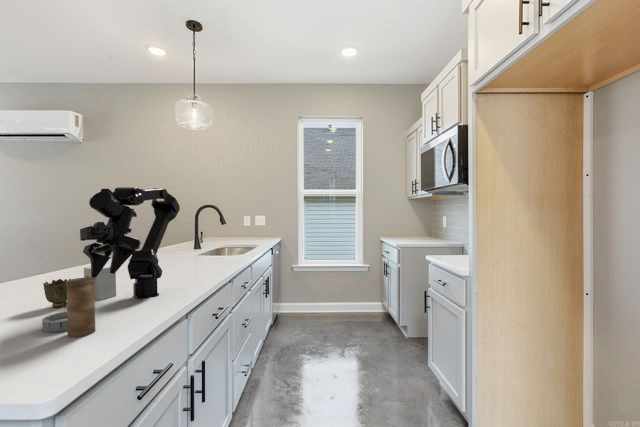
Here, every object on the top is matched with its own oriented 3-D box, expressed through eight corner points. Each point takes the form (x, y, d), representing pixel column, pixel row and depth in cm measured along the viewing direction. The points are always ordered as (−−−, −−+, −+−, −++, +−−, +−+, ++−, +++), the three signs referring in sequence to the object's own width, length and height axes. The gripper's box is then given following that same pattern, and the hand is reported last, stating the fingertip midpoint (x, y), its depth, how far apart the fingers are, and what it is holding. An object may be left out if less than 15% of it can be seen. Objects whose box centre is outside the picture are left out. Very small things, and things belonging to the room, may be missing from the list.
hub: (84, 316, 88) (84, 308, 87) (89, 325, 81) (89, 316, 81) (41, 325, 81) (41, 315, 81) (43, 335, 75) (42, 325, 75)
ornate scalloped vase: (56, 311, 92) (56, 284, 92) (37, 309, 94) (36, 283, 93) (80, 303, 99) (80, 278, 99) (62, 302, 101) (61, 277, 101)
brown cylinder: (94, 326, 80) (93, 276, 80) (98, 333, 76) (97, 280, 76) (65, 332, 76) (64, 279, 76) (67, 340, 72) (66, 284, 72)
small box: (116, 296, 108) (116, 265, 108) (100, 300, 103) (100, 268, 103) (100, 293, 111) (99, 264, 111) (83, 298, 106) (83, 267, 105)
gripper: (72, 220, 92) (52, 272, 85) (109, 206, 83) (89, 263, 77) (111, 233, 100) (95, 281, 93) (147, 222, 92) (133, 273, 85)
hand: (102, 275), depth 87 cm, fingers open, 9 cm apart
